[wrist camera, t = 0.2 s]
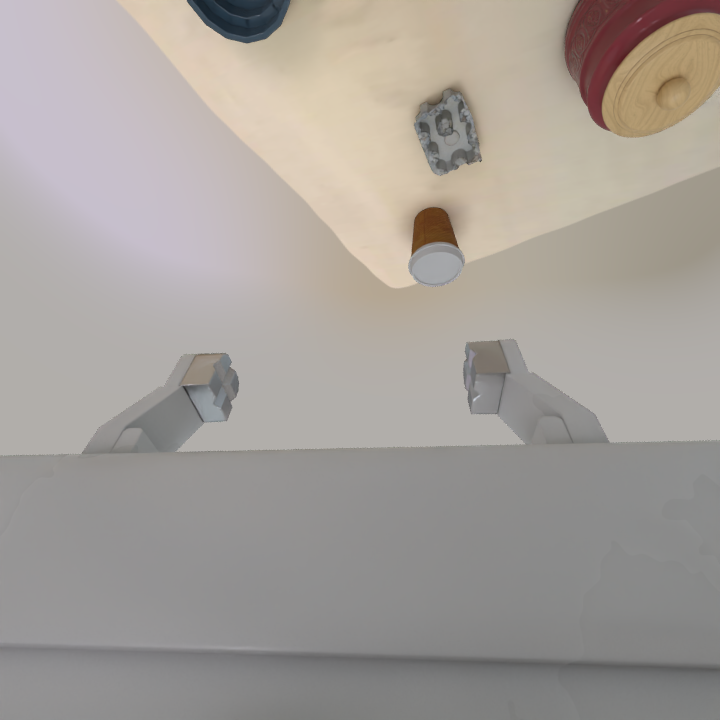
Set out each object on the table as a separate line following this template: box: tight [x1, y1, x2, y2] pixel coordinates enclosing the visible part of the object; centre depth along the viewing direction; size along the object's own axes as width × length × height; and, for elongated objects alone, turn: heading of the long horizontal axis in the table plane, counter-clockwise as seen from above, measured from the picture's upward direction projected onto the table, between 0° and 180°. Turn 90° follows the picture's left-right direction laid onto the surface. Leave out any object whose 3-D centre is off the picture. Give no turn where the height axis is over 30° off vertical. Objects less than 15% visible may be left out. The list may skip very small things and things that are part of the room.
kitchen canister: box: [565, 0, 720, 137], centre depth 43 cm, size 13×13×18 cm
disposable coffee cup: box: [408, 208, 465, 287], centre depth 70 cm, size 10×10×12 cm
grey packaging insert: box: [414, 89, 482, 176], centre depth 57 cm, size 11×8×4 cm
